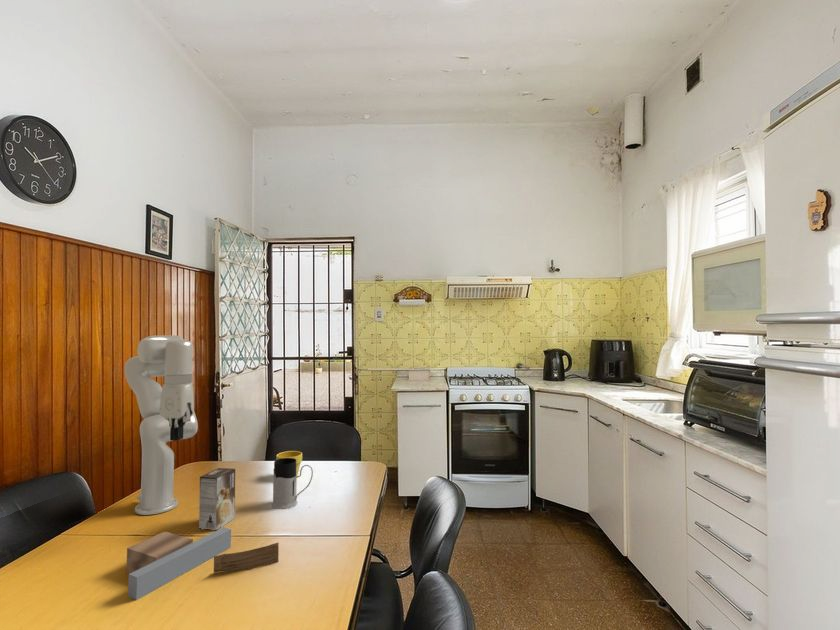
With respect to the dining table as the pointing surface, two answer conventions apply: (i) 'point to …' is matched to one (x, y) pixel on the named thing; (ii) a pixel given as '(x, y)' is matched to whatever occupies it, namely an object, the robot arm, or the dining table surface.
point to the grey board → (177, 563)
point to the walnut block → (154, 549)
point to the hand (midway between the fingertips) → (176, 439)
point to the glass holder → (286, 483)
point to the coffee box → (217, 498)
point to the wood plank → (247, 559)
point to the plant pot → (291, 454)
